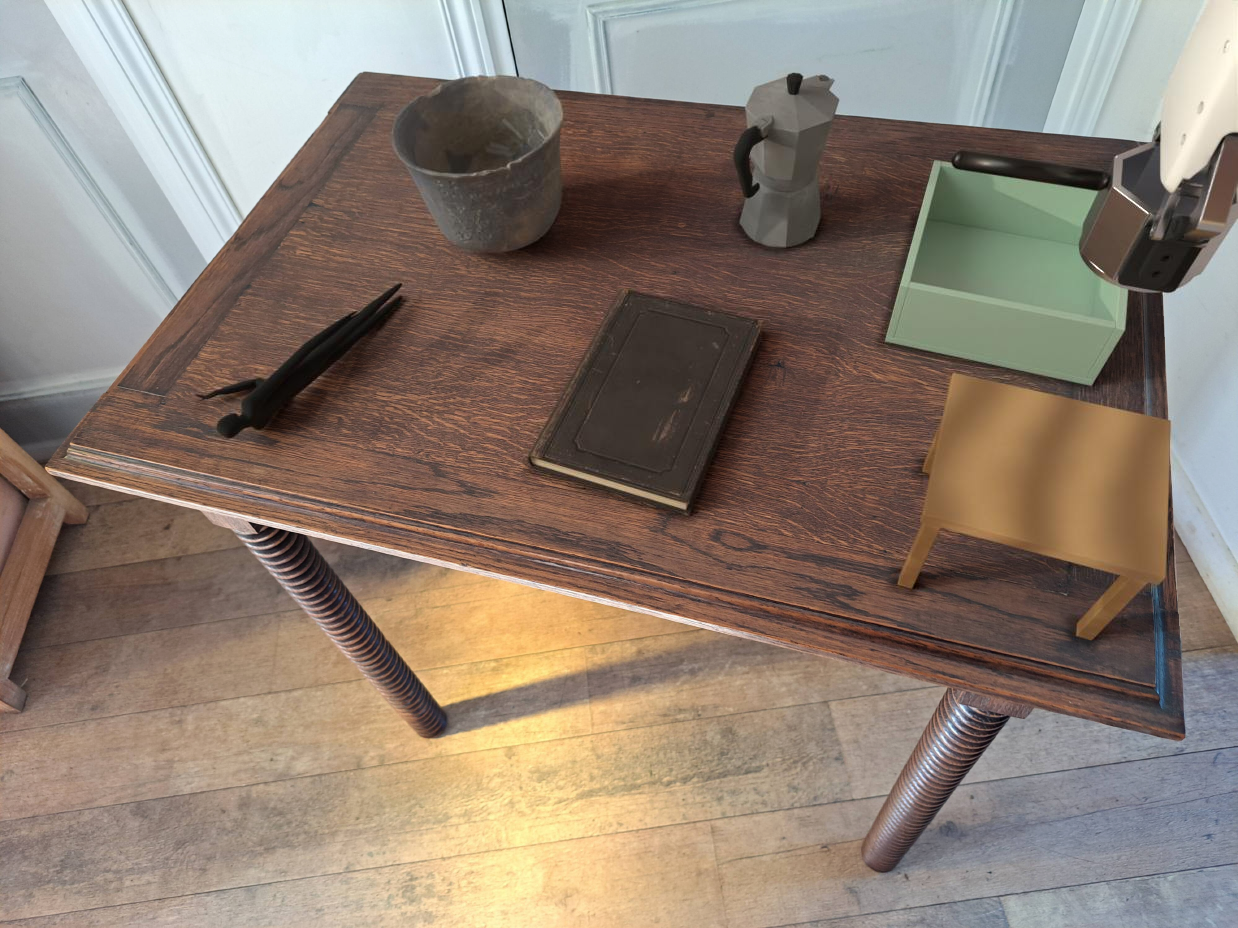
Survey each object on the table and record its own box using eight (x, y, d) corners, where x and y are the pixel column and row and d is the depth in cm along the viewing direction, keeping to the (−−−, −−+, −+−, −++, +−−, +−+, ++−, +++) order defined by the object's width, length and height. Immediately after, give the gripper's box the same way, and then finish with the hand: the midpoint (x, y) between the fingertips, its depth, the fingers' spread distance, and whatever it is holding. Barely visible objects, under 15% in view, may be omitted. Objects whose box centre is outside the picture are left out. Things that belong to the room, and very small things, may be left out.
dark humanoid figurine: (348, 229, 92) (155, 370, 80) (410, 275, 91) (223, 426, 79) (353, 277, 99) (175, 414, 87) (410, 320, 98) (239, 465, 86)
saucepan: (1197, 228, 55) (1243, 153, 51) (1198, 303, 52) (1247, 230, 47) (941, 187, 59) (962, 114, 55) (925, 253, 56) (946, 182, 51)
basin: (1104, 251, 92) (1135, 191, 85) (1091, 386, 82) (1125, 329, 75) (918, 218, 97) (934, 160, 90) (884, 341, 87) (900, 285, 80)
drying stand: (1107, 503, 75) (1171, 420, 65) (1096, 646, 67) (1166, 577, 58) (920, 457, 79) (953, 372, 69) (891, 587, 72) (923, 513, 62)
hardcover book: (762, 336, 88) (764, 320, 87) (688, 516, 77) (688, 502, 75) (619, 302, 93) (618, 286, 91) (529, 467, 81) (525, 453, 79)
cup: (537, 303, 94) (513, 190, 81) (399, 269, 98) (357, 158, 86) (599, 201, 102) (586, 85, 90) (470, 175, 107) (441, 62, 95)
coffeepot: (781, 177, 103) (796, 30, 88) (847, 209, 99) (875, 60, 84) (698, 245, 97) (699, 100, 82) (764, 282, 93) (778, 137, 78)
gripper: (1443, 55, 34) (1214, 356, 48) (1388, -135, 42) (1209, 168, 57) (1230, 32, 35) (1072, 329, 50) (1220, -145, 44) (1089, 151, 59)
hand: (1146, 241), depth 53 cm, fingers closed on saucepan, 7 cm apart
